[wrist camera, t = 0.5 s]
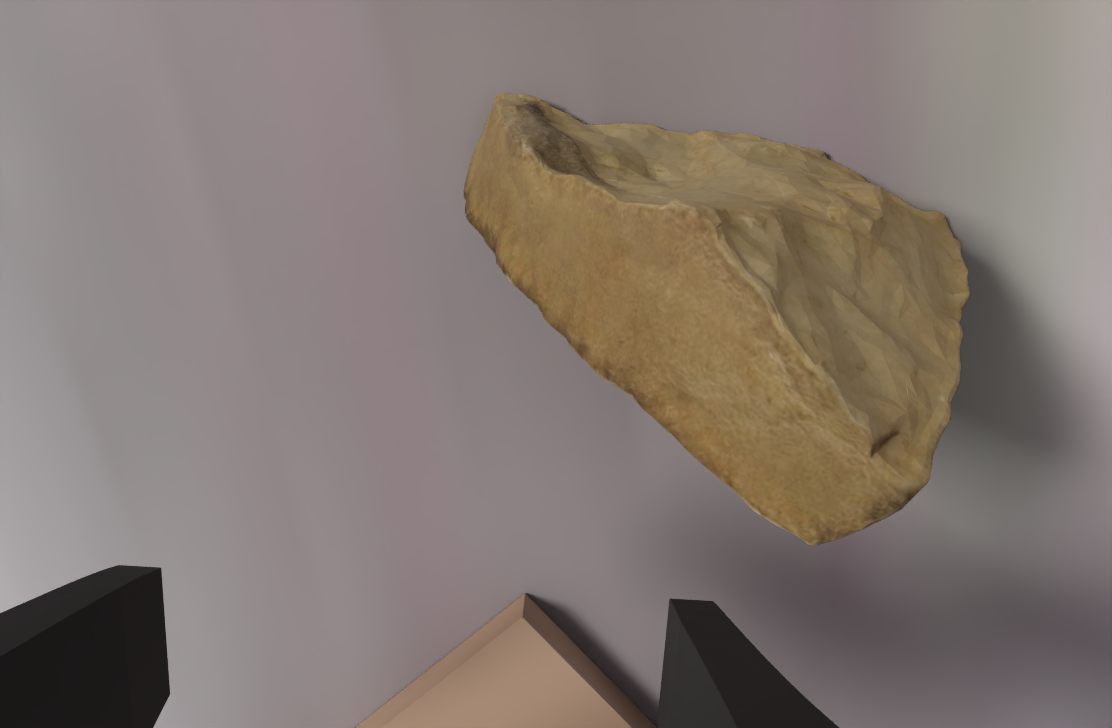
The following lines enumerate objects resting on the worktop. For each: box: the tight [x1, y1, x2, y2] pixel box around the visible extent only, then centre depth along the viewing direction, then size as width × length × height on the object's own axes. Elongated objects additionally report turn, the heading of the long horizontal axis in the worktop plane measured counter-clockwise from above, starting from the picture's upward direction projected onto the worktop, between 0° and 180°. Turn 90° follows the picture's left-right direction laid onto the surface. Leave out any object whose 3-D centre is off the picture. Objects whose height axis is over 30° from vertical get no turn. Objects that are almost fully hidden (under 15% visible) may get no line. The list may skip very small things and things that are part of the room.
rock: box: [464, 93, 970, 546], centre depth 17 cm, size 11×9×10 cm
